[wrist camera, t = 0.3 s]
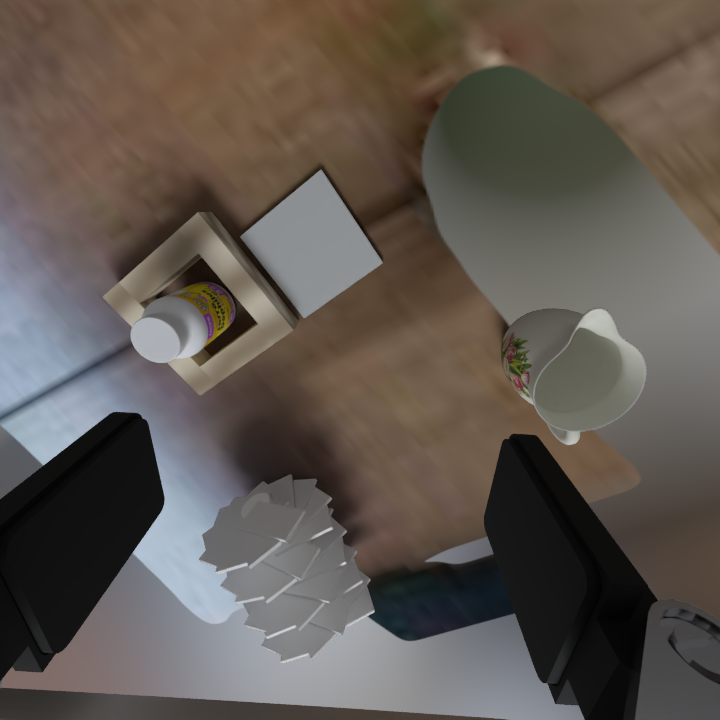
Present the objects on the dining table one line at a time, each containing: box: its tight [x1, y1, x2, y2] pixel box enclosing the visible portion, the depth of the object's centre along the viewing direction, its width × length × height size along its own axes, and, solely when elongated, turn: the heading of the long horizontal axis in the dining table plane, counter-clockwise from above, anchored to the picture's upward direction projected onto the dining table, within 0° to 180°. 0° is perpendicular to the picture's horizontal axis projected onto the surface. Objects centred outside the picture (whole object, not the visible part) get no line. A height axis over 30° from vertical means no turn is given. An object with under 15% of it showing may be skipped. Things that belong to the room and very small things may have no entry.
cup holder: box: [103, 212, 299, 395], centre depth 44 cm, size 16×16×4 cm
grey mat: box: [240, 170, 383, 318], centre depth 42 cm, size 12×12×1 cm
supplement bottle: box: [131, 282, 236, 363], centre depth 39 cm, size 7×7×13 cm
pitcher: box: [501, 308, 647, 445], centre depth 40 cm, size 11×18×14 cm, turn 12°
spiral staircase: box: [199, 474, 375, 663], centre depth 52 cm, size 18×18×25 cm
